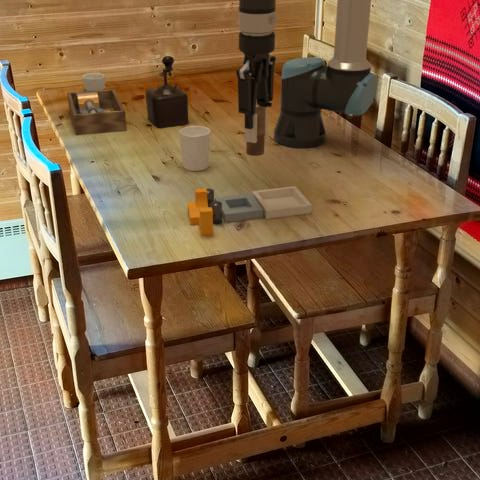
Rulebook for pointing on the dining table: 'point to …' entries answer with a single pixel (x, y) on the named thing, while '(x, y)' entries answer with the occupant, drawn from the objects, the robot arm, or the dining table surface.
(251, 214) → the jig block
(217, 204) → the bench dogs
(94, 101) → the vise
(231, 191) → the dining table surface
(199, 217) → the pipe clamp
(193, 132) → the white cup
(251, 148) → the dowel
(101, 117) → the tool caddy
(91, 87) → the teacup
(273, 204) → the tray
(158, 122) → the coffee grinder
